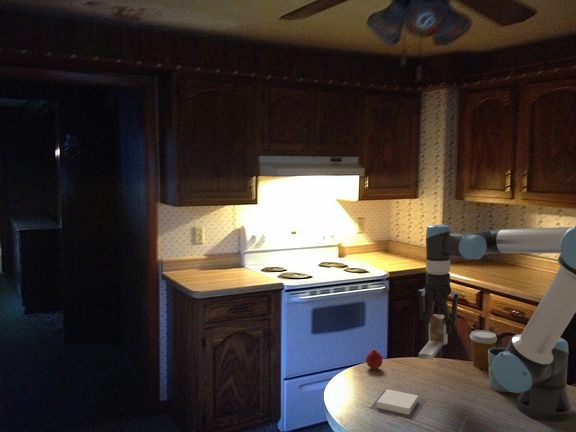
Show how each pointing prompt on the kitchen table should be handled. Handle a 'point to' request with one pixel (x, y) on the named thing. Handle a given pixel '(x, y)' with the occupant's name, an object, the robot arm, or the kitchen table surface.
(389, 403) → the tile
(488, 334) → the disposable coffee cup
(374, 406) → the mat
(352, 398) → the kitchen table surface
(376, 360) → the onion
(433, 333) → the tan l-shaped piece
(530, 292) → the kitchen table surface
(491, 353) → the grey-green hollow open cylinder
